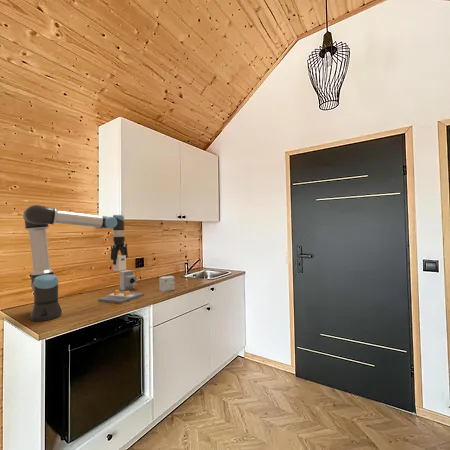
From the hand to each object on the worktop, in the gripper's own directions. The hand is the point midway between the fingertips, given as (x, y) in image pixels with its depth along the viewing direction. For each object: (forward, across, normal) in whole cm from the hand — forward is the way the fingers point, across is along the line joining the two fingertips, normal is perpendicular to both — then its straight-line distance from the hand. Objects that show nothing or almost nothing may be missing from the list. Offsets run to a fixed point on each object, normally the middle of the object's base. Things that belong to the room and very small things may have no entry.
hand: (119, 268), depth 196 cm
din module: (+1, 0, 0) cm, 1 cm away
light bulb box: (+23, +33, -17) cm, 44 cm away
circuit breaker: (+22, +25, +15) cm, 37 cm away
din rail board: (+22, +1, 0) cm, 22 cm away
